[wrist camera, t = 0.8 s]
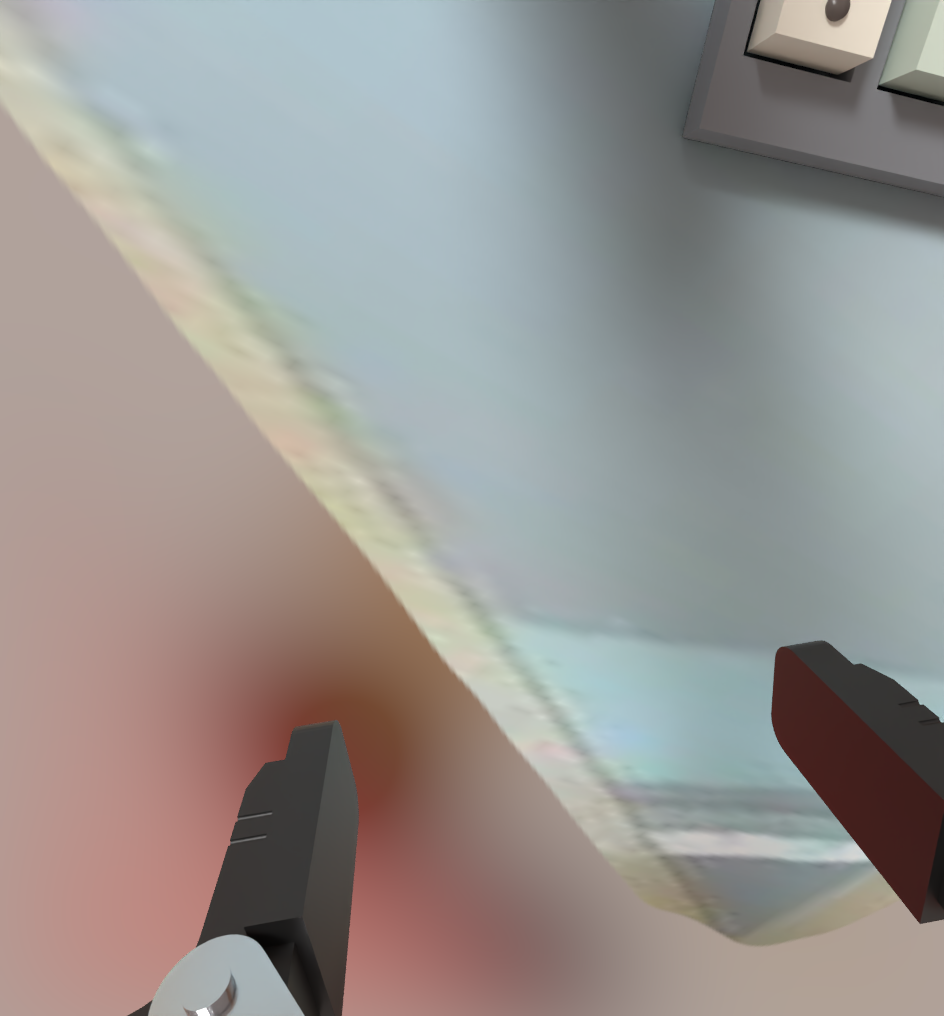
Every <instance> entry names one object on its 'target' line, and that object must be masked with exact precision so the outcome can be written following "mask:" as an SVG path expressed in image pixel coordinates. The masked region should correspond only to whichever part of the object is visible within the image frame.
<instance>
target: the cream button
mask: <svg viewBox="0 0 944 1016" xmlns="http://www.w3.org/2000/svg"><path fill="white" fill-rule="evenodd" d="M891 1H892V0H761V1H760V4H759V8H758V12H757V16H756V19H755V23H754V27H753V31H752V35H751V38H750V42H749V46H748V50H747V52H749V53H753V54H757V55H761V56H765V57H769V58H773V59H777V60H781V61H785V62H789V63H792V64H796V65H800V66H804V67H808V68H812V69H816V70H820V71H824V72H828V73H832V74H836V75H839V74H841V73H843V72H845V71H847V70H850V69H852V68H854V67H856V66H858V65H860V64H862V63H864V62H866V61H868V60H870V59H873V57H874V54H875V51H876V48H877V44H878V41H879V38H880V35H881V32H882V29H883V26H884V23H885V20H886V17H887V13H888V10H889V7H890V4H891Z"/></svg>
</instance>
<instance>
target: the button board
mask: <svg viewBox="0 0 944 1016" xmlns="http://www.w3.org/2000/svg"><path fill="white" fill-rule="evenodd" d="M757 1H758V0H715V4H714V8H713V12H712V16H711V20H710V24H709V28H708V32H707V36H706V41H705V45H704V49H703V53H702V57H701V61H700V65H699V69H698V73H697V77H696V81H695V86H694V90H693V94H692V98H691V102H690V106H689V110H688V114H687V118H686V122H685V126H684V130H683V135H682V137H683V138H687V139H691V140H696V141H700V142H705V143H709V144H713V145H718V146H722V147H727V148H731V149H735V150H740V151H744V152H749V153H753V154H757V155H762V156H766V157H771V158H775V159H779V160H784V161H788V162H793V163H797V164H801V165H806V166H810V167H814V168H819V169H823V170H828V171H832V172H836V173H841V174H845V175H850V176H854V177H858V178H863V179H867V180H872V181H876V182H880V183H885V184H889V185H894V186H898V187H902V188H907V189H911V190H916V191H920V192H924V193H929V194H933V195H938V196H942V197H944V106H941V105H937V104H933V103H929V102H925V101H921V100H917V99H913V98H909V97H905V96H901V95H897V94H893V93H889V92H885V91H881V90H877V87H878V83H879V80H880V77H881V74H882V71H883V68H884V65H885V62H886V59H887V56H888V53H889V50H890V47H891V44H892V41H893V38H894V35H895V32H896V29H897V26H898V23H899V20H900V16H901V13H902V10H903V7H904V4H905V1H906V0H892V1H891V4H890V7H889V10H888V13H887V17H886V20H885V23H884V26H883V29H882V32H881V35H880V38H879V41H878V44H877V48H876V51H875V54H874V57H873V59H870V60H868V61H866V62H864V63H862V64H860V65H858V66H856V67H854V68H852V69H850V70H847V71H845V72H843V73H841V74H839V75H836V74H832V73H831V74H830V77H826V76H822V75H818V74H814V73H810V72H806V71H802V70H798V69H794V68H790V67H786V66H782V65H778V64H774V63H771V62H767V61H763V60H759V59H755V58H751V57H747V56H743V54H744V50H745V46H746V42H747V39H748V35H749V31H750V27H751V23H752V20H753V16H754V12H755V8H756V4H757Z"/></svg>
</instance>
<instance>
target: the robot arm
mask: <svg viewBox="0 0 944 1016" xmlns="http://www.w3.org/2000/svg"><path fill="white" fill-rule="evenodd" d="M771 717H772V724H773V729H774V732H775V735H776V737H777V740H778V742H779V744H780V746H781V747H782V749H783V750H784V752H785V753H786V754H787V756H788V757H789V758H790V759H791V761H792V762H793V763H794V764H795V766H796V767H797V768H798V770H799V771H800V772H801V773H802V775H803V776H804V777H805V778H806V780H807V781H808V782H809V783H810V785H811V786H812V787H813V789H814V790H815V791H816V792H817V794H818V795H819V796H820V797H821V799H822V800H823V801H824V803H825V804H826V805H827V806H828V808H829V809H830V810H831V811H832V813H833V814H834V815H835V817H836V818H837V819H838V820H839V822H840V823H841V824H842V825H843V827H844V828H845V829H846V831H847V832H848V833H849V834H850V836H851V837H852V838H853V839H854V841H855V842H856V843H857V845H858V846H859V847H860V848H861V850H862V851H863V852H864V853H865V855H866V856H867V857H868V858H869V860H870V861H871V862H872V864H873V865H874V866H875V867H876V869H877V870H878V871H879V872H880V874H881V875H882V876H883V878H884V879H885V880H886V881H887V883H888V884H889V885H890V886H891V888H892V889H893V890H894V892H895V893H896V894H897V895H898V897H899V898H900V899H901V900H902V902H903V903H904V904H905V906H906V907H907V908H908V909H909V911H910V912H911V913H912V914H913V916H914V917H915V918H916V919H917V921H918V922H919V923H920V924H922V923H927V922H932V921H938V920H943V919H944V723H941V722H940V720H939V717H938V716H936V715H935V714H934V713H933V712H932V711H930V710H929V709H928V708H927V707H926V706H924V705H920V704H919V702H918V700H917V699H916V698H915V697H914V696H913V695H911V694H910V693H909V692H908V691H907V690H905V689H904V688H903V687H902V686H901V685H899V684H898V683H897V682H896V681H895V680H893V679H891V678H889V677H887V676H885V675H883V674H881V673H879V672H877V671H875V670H873V669H871V668H869V667H867V666H865V665H863V664H855V665H853V664H852V663H851V662H850V661H849V660H848V659H846V658H845V657H844V656H843V655H842V654H841V653H840V652H838V651H837V650H836V649H835V648H834V647H833V646H832V645H830V644H829V643H827V642H825V641H814V642H808V643H802V644H796V645H790V646H784V647H781V648H779V649H778V650H777V652H776V656H775V667H774V682H773V697H772V711H771ZM358 810H359V809H358V797H357V790H356V785H355V780H354V776H353V773H352V769H351V765H350V761H349V757H348V753H347V749H346V745H345V741H344V737H343V733H342V729H341V726H340V724H339V722H338V721H337V720H334V721H328V722H322V723H316V724H310V725H304V726H298V727H295V728H294V729H293V731H292V734H291V739H290V743H289V746H288V751H287V754H286V758H285V760H280V761H275V762H268V763H265V764H264V766H263V767H262V768H261V770H260V771H259V772H258V774H257V775H256V776H255V778H254V779H253V780H252V782H251V783H250V784H249V785H248V787H247V788H246V791H245V794H244V797H243V801H242V804H241V807H240V810H239V813H238V822H236V823H235V826H234V830H233V832H232V836H231V839H230V841H231V845H230V846H228V849H227V852H226V855H225V858H224V861H223V865H222V868H221V871H220V875H219V878H218V881H217V884H216V887H215V890H214V894H213V897H212V900H211V903H210V907H209V910H208V913H207V917H206V920H205V923H204V926H203V929H202V932H201V936H200V939H199V941H198V944H197V946H196V948H195V949H194V950H192V951H191V952H189V953H188V954H187V955H186V956H184V957H183V958H182V959H181V960H180V961H179V962H178V963H177V964H176V965H175V966H174V967H173V968H172V970H171V971H170V972H169V973H168V975H167V976H166V977H165V978H164V980H163V982H162V983H161V985H160V987H159V988H158V990H157V992H156V994H155V996H154V998H153V1000H152V1001H151V1002H149V1003H148V1004H146V1005H145V1006H144V1007H142V1008H140V1009H139V1010H137V1011H135V1012H133V1013H132V1014H130V1015H128V1016H342V1006H343V995H344V984H345V973H346V961H347V948H348V938H349V926H350V915H351V904H352V892H353V880H354V869H355V858H356V846H357V835H358V822H359V811H358Z"/></svg>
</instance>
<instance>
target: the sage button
mask: <svg viewBox="0 0 944 1016" xmlns="http://www.w3.org/2000/svg"><path fill="white" fill-rule="evenodd" d="M878 85H879V86H883V87H887V88H891V89H895V90H899V91H903V92H907V93H911V94H915V95H918V96H922V97H926V98H930V99H934V100H938V101H942V102H944V0H906V2H905V5H904V8H903V11H902V14H901V17H900V20H899V23H898V26H897V29H896V33H895V36H894V39H893V42H892V45H891V48H890V51H889V54H888V57H887V60H886V63H885V66H884V69H883V72H882V75H881V78H880V81H879V84H878Z"/></svg>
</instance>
